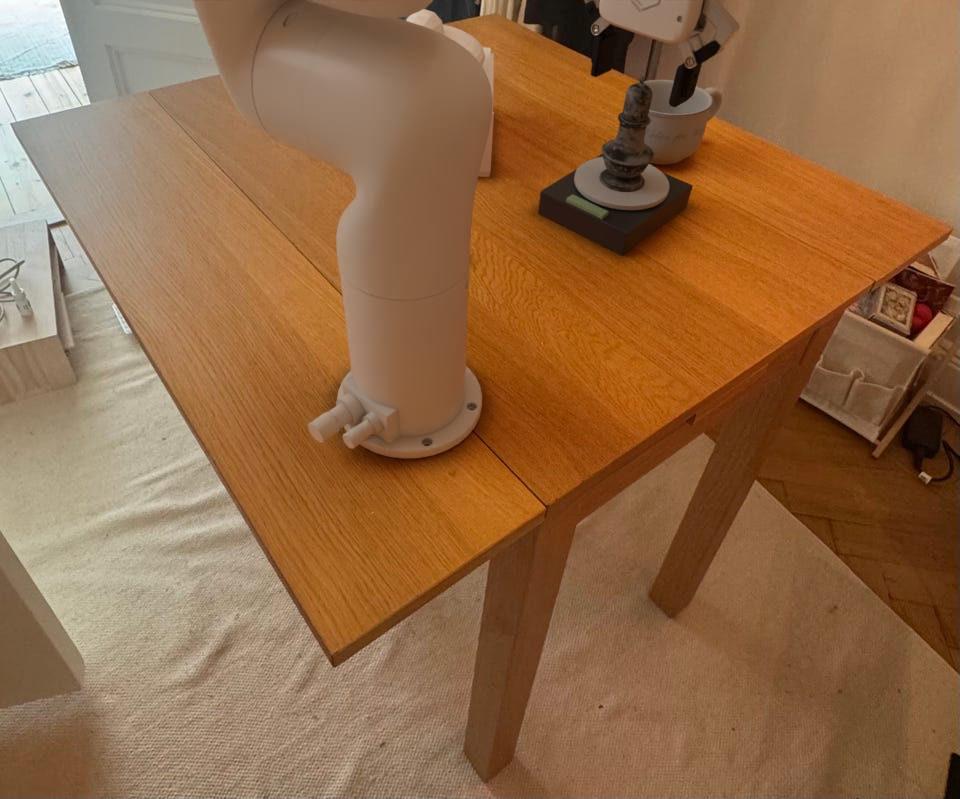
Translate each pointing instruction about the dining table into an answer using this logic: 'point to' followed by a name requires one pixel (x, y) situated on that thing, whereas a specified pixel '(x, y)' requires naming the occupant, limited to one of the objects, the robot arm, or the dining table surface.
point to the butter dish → (479, 52)
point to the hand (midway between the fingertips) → (638, 87)
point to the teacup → (678, 121)
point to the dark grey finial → (629, 143)
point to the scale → (613, 205)
